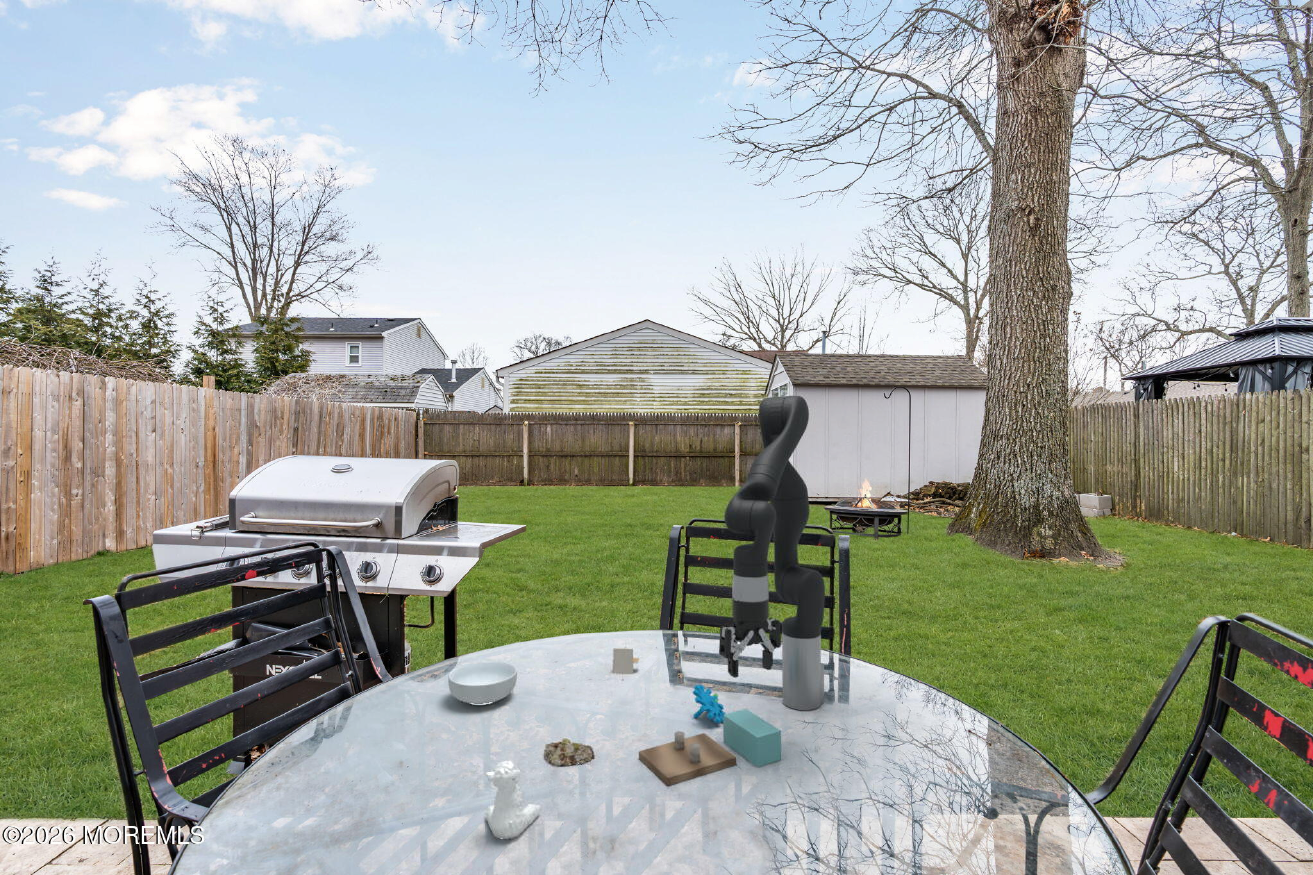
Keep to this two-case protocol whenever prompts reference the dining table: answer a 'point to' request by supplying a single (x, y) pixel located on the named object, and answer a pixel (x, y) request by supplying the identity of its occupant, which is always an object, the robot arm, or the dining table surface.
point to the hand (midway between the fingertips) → (750, 672)
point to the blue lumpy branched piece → (708, 704)
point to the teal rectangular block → (752, 737)
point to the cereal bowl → (482, 681)
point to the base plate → (686, 758)
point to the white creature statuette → (508, 803)
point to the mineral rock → (567, 753)
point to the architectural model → (623, 661)
